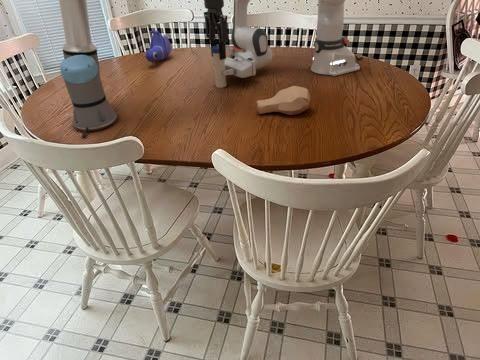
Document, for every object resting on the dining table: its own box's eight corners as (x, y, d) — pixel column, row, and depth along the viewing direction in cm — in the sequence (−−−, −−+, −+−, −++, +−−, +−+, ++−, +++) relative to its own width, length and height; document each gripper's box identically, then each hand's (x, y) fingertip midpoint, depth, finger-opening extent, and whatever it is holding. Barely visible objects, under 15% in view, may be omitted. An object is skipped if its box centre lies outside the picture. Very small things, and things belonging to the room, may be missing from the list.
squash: (314, 116, 128) (313, 95, 122) (259, 125, 130) (256, 105, 124) (308, 99, 136) (307, 78, 129) (257, 108, 138) (253, 88, 131)
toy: (159, 62, 200) (139, 68, 178) (155, 30, 193) (133, 32, 171) (176, 61, 198) (157, 67, 176) (172, 29, 191) (151, 31, 169)
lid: (208, 52, 147) (208, 48, 146) (216, 48, 151) (216, 44, 150) (220, 54, 145) (219, 49, 144) (227, 50, 149) (227, 45, 148)
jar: (213, 86, 156) (209, 49, 147) (219, 83, 159) (216, 45, 150) (222, 88, 154) (219, 50, 144) (228, 84, 157) (226, 47, 148)
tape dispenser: (245, 69, 176) (265, 54, 189) (245, 58, 173) (265, 44, 185) (216, 62, 184) (237, 49, 196) (215, 52, 180) (236, 39, 193)
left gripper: (192, -5, 140) (199, 54, 154) (218, 0, 128) (223, 64, 142) (208, -8, 144) (214, 51, 157) (235, -3, 131) (239, 60, 145)
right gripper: (227, 52, 164) (203, 59, 157) (257, 61, 151) (232, 69, 144) (228, 65, 168) (205, 73, 161) (258, 75, 155) (233, 84, 148)
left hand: (218, 57), depth 149 cm, fingers closed on lid, 5 cm apart
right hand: (218, 71), depth 152 cm, fingers closed on jar, 5 cm apart
